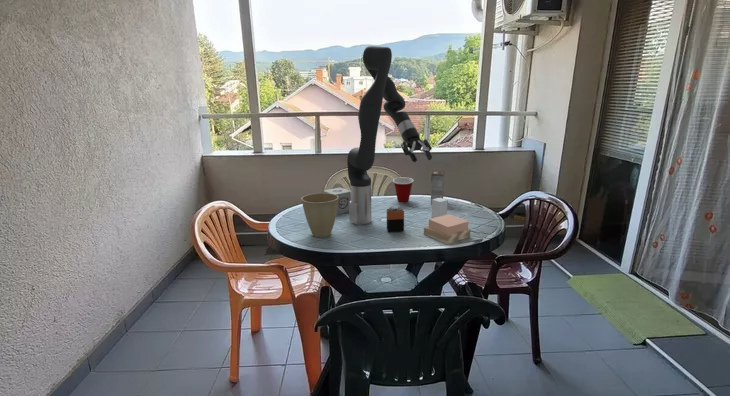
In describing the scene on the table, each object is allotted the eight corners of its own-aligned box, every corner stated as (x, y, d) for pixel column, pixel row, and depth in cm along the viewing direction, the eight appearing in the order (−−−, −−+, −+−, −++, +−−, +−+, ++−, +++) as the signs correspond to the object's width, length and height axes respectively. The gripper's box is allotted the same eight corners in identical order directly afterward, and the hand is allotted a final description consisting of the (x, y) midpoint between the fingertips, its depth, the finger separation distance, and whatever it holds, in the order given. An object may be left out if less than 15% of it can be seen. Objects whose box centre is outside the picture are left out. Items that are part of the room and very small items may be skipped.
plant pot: (346, 236, 152) (344, 198, 148) (311, 244, 145) (309, 204, 141) (330, 225, 165) (329, 190, 161) (298, 232, 158) (296, 195, 154)
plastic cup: (390, 203, 195) (390, 181, 192) (395, 198, 205) (395, 176, 202) (410, 205, 192) (411, 182, 188) (415, 199, 201) (415, 177, 198)
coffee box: (431, 199, 201) (431, 170, 196) (443, 200, 200) (444, 170, 195) (430, 204, 192) (431, 174, 188) (443, 205, 191) (444, 174, 186)
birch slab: (447, 245, 143) (447, 237, 142) (423, 235, 154) (424, 227, 153) (469, 237, 150) (470, 229, 149) (445, 228, 161) (446, 220, 160)
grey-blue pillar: (439, 223, 165) (439, 201, 162) (431, 220, 169) (432, 199, 166) (446, 221, 168) (447, 200, 165) (438, 218, 172) (439, 197, 169)
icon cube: (341, 206, 193) (340, 187, 190) (351, 210, 185) (351, 191, 182) (324, 209, 187) (323, 190, 184) (334, 214, 179) (333, 194, 176)
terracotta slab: (447, 235, 144) (448, 227, 143) (428, 227, 153) (428, 219, 152) (467, 229, 149) (468, 221, 148) (448, 221, 158) (448, 214, 157)
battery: (386, 228, 160) (386, 206, 157) (402, 228, 161) (402, 205, 158) (388, 232, 156) (388, 209, 153) (404, 231, 156) (404, 209, 154)
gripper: (399, 128, 169) (414, 157, 163) (424, 125, 176) (439, 153, 170) (392, 138, 175) (406, 166, 169) (416, 135, 182) (431, 162, 176)
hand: (423, 160), depth 170 cm, fingers open, 8 cm apart
